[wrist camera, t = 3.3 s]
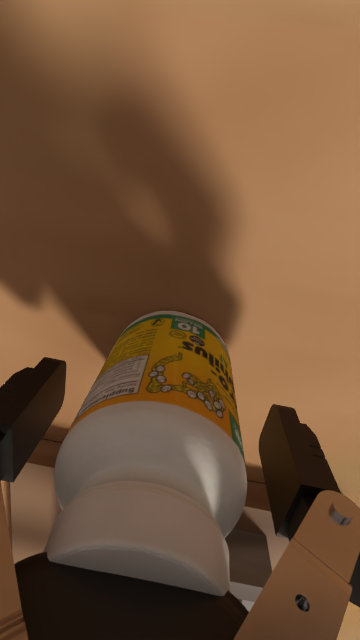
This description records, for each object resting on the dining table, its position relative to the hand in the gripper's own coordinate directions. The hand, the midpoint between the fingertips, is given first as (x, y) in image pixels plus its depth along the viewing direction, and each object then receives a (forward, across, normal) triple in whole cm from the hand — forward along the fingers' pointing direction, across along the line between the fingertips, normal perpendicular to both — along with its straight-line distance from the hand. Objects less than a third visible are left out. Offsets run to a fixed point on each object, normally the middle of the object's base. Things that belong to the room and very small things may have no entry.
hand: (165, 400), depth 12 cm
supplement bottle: (+3, 0, 0) cm, 3 cm away
